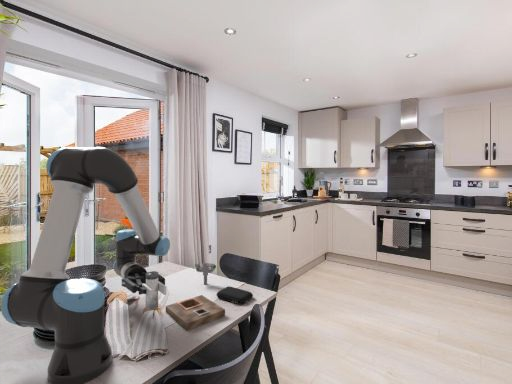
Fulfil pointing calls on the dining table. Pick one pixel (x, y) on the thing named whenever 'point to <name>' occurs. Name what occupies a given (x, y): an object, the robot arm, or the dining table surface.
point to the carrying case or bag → (234, 295)
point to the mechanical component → (205, 269)
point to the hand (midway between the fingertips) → (158, 292)
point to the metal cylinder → (153, 284)
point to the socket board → (194, 312)
